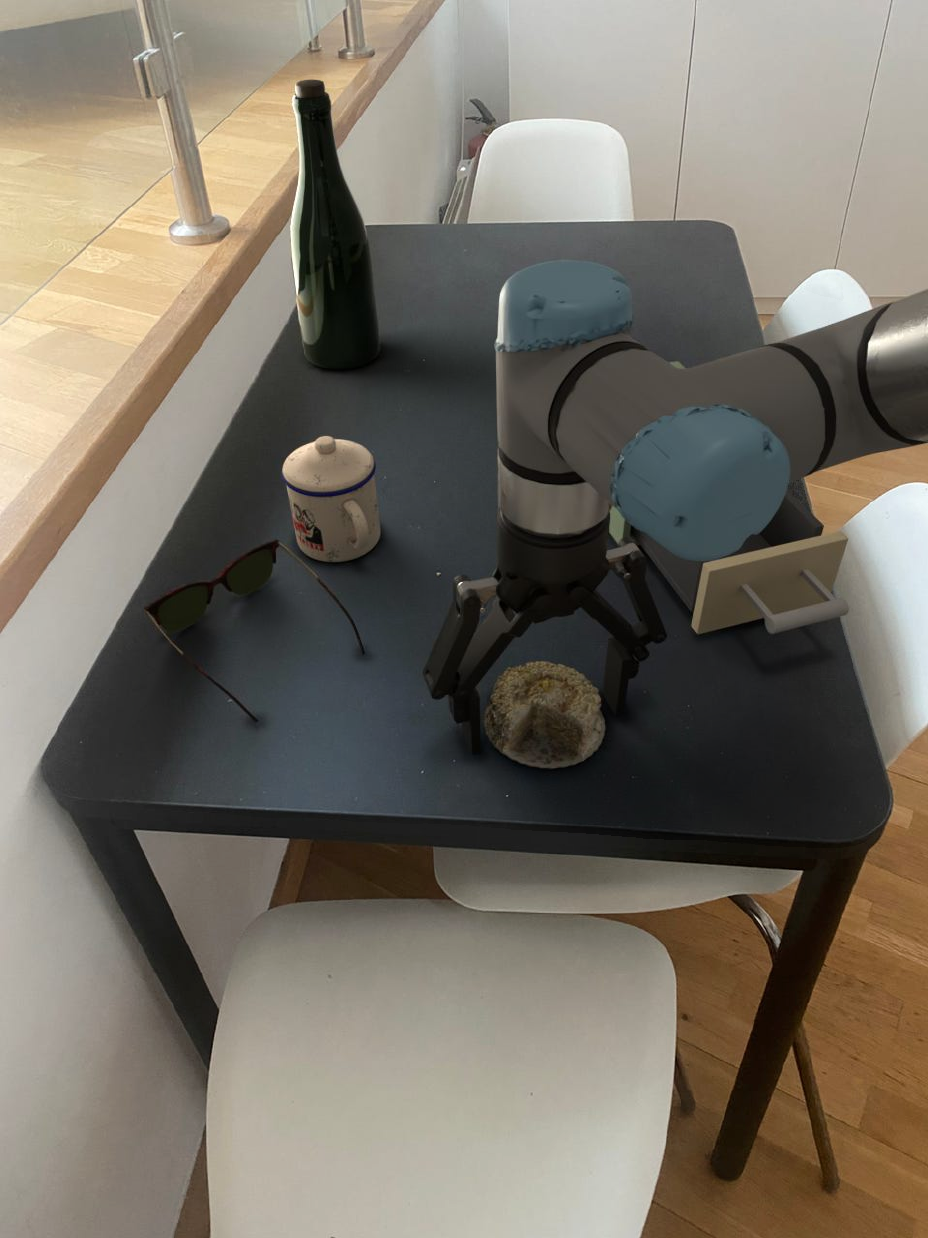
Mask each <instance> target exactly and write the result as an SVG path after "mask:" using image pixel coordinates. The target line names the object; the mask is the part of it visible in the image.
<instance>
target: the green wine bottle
mask: <svg viewBox="0 0 928 1238" xmlns="http://www.w3.org/2000/svg"><path fill="white" fill-rule="evenodd" d="M294 90H295V94H293V96H292V110H293V113H294V118H295V127H296V131H297V132H296V133H297V134H296V135H297V146H298V165H299V166H298V179H297V185H296V189H295V190H296V191H295V196H294V201H293V205H292V210H291V216H290V220H289V238H288V239H289V249H290V260H291V271H292V277H293V285H294V292H295V293H294V294H295V301H296V307H297V315H298V322H299V330H300V335H301V342H302V348H303V349H302V350H303V353H304V356H305V358H306V359H307V360H308V362H310V363H311V364H313V365H315V366H317V367H320V368H323V369H329V370H347V369H353V368H358V367H361V366H363V365H366V364H367V363H369V362H371V361H373V360H374V359H375V358H376V357H377V356H378V355H379V352H380V350H381V334H380V324H379V316H378V315H379V314H378V307H377V298H376V290H375V281H374V280H375V279H374V272H373V262H372V257H371V256H372V255H371V249H370V243H369V235H368V231H367V228H366V224H365V220H364V217H363V215H362V213H361V210H360V208H359V206H358V203H357V201H356V199H355V198H354V197H355V196H354V195H353V193H352V191H351V189H350V186H349V184H348V182H347V180H346V178H345V177H346V176H345V175H344V172H343V169H342V166H341V161H340V157H339V153H338V149H337V143H336V137H335V132H334V123H333V115H332V114H333V113H332V110H333V107H332V100H331V96H330V93H328V92H326V85H325V83H324V81H323V80H320V79H303V80H299V81H296V82H295V84H294Z"/></svg>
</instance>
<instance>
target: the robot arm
mask: <svg viewBox="0 0 928 1238" xmlns="http://www.w3.org/2000/svg"><path fill="white" fill-rule="evenodd" d="M497 316H498V319H497V338H496V339H495V341H494V342H493V343H494V344H493V345H494V346H493V347H494V350H495V372H496V373H495V375H496V376H495V377H496V378H495V379H496V426H497V427H496V430H497V431H496V434H497V505H498V508H497V515H496V516H497V517H496V518H497V520H496V521H497V525H496V526H497V528H496V529H497V531H496V532H497V535H496V537H497V541H496V542H497V546H496V547H497V565H496V567H495V569H494V571H493V573H492V574H491V577H485V578H481V579H476V580H471V578H470V576H469V574H468V575H467V574H466V573H462V574H459V575H457V576H455V577H454V579H453V581H452V602H451V604H450V606H449V609H448V611H447V614H446V616H445V618H444V621H443V623H442V626H441V627H440V630H439V633H438V635H437V637H436V640H435V642H434V643H433V647H432V648H431V651H430V653H429V655H428V658H427V660H426V663H425V665H424V667H423V669H422V676H423V679H424V682H425V684H426V687H427V689H428V691H429V694H430V697H431V699H432V700H435V701H437V700H443V698H445V697H446V696H447V697H448V709H449V711H450V714H451V716H452V718H453V721H454V722H455V723H456V725H459V724H461V731H462V733H463V736H464V739H465V741H466V743H467V746H468V748H469V751H470V753H471V755H476V754H479V753H482V737H481V736H482V731H481V696H480V694H479V692H478V690H477V688H476V687H478V685H479V684H480V682H481V681H482V680H483V678H484V677H485V676H486V675H487V673H488V672H489V671H490V670H491V669H492V667H493V666H494V665H495V663H496V662H497V660H499V658H500V657H501V656H502V654H503V653H504V652H505V650H507V648H508V647H509V645H510V644H511V643H512V641H513V640H515V638H521V637H522V636H523V635H524V634H525V632H526V631H527V630H528V629H529V628H530V626H531V625H532V624H533V625H536V624H540V623H544V622H546V621H548V620H551V619H553V618H564V617H565V618H566V617H569V616H573V615H574V614H575V611H577V610H579V609H582V610H583V611H584V612H585V613H586V614H587V615H588V616H589V617H590V618H592V620H595V621H596V622H597V623H598V624H600V625H601V626H602V627H603V628H604V629H605V630H606V631H607V632H608V633H609V634H610V635H611V637H608V639H607V646H606V647H607V649H606V657H605V666H604V675H603V683H602V695H603V697H604V699H605V701H606V702H607V704H608V705H609V707H610V709H611V711H612V712H613V715H614V716H615V717H617V716H618V717H619V716H621V715H624V714H625V711H626V703H627V697H628V696H627V695H628V688H629V680H631V679H634V678H636V677H637V675H638V674H639V668H640V663H641V662H644V661H645V660H647V659H648V658H649V657H650V654H651V653H650V651H649V649H648V647H647V646H648V645H649V644H651V643H654V644H656V645H659V644H662V643H664V642H665V641H666V640H667V638H668V633H667V631H666V628H665V625H664V623H663V621H662V618H661V615H660V613H659V610H658V608H657V606H656V603H655V600H654V597H653V596H652V593H651V591H650V588H649V585H648V583H647V580H646V574H647V563H648V561H647V560H648V559H647V557H646V556H645V555H644V554H643V552H642V550H641V549H640V548H639V547H638V545H637V546H636V544H635V543H634V542H633V540H632V539H631V538H630V537H624V538H622V539H621V540H619V542H618V544H617V543H616V544H617V545H616V548H611V549H608V546H609V538H610V537H609V535H610V533H609V527H610V510H611V508H612V506H613V507H615V508H616V509H617V510H618V511H619V512H620V514H621V516H622V518H624V519H626V521H627V522H628V523H630V524H631V525H632V526H633V527H634V528H635V529H638V530H640V531H641V532H645V533H646V534H648V535H649V536H650V537H651V538H653V539H654V540H655V541H657V542H658V543H659V544H661V545H662V546H663V547H665V548H666V549H667V550H669V551H670V552H671V553H673V554H674V555H676V556H678V557H680V558H683V559H685V560H691V561H711V560H716V559H719V558H722V557H725V556H727V555H729V554H731V553H733V552H735V551H737V550H739V549H740V548H741V546H742V545H743V543H744V541H745V540H746V539H747V538H748V537H749V536H750V535H751V534H753V535H757V534H759V533H760V532H761V531H762V530H763V529H764V528H765V527H766V526H767V524H768V523H769V522H770V521H771V519H772V518H773V516H774V515H775V513H776V512H777V510H778V509H779V507H780V505H781V503H782V501H783V499H784V496H785V494H786V491H787V490H788V487H789V485H790V484H791V483H793V482H796V481H799V480H802V479H803V478H806V477H808V476H811V475H813V474H814V473H817V472H820V471H822V470H825V469H829V468H832V467H835V466H838V465H841V464H844V463H847V462H850V461H853V460H856V459H860V458H863V457H867V456H871V455H875V454H880V453H885V452H890V451H895V450H900V449H907V448H911V447H916V446H921V445H924V444H925V445H926V444H928V288H925V289H922V290H920V291H917V292H914V293H912V294H909V295H907V296H905V297H902V298H900V299H898V300H894V301H891V302H887V303H884V304H882V305H880V306H879V305H878V306H876V307H874V308H871V309H869V310H866V311H863V312H861V313H858V314H856V315H855V314H854V315H853V316H850V317H848V318H845V319H843V320H840V321H837V322H834V323H831V324H827V325H825V326H821V327H819V328H816V329H813V330H809V331H807V332H804V333H801V334H798V335H794V336H792V337H791V336H790V337H788V338H786V339H782V340H780V341H776V342H773V343H767V344H764V345H761V346H757V347H755V348H752V349H749V350H746V351H742V352H739V353H736V354H732V355H729V356H725V357H722V358H719V359H714V360H712V361H708V362H705V363H702V364H699V365H696V366H692V367H689V368H686V369H680V368H676V367H674V366H673V365H671V364H670V363H669V362H668V361H667V360H665V359H664V358H662V357H661V356H659V355H657V354H656V353H654V352H653V351H651V350H650V349H648V348H647V347H646V346H645V345H643V344H642V343H640V342H638V341H637V340H635V339H634V338H632V336H631V329H632V326H633V323H634V320H635V319H634V315H633V295H632V290H631V287H630V285H629V284H628V280H627V279H626V278H625V277H624V276H623V275H622V274H621V273H620V272H618V271H617V270H615V269H613V268H612V267H609V266H606V265H604V264H601V263H596V262H593V261H592V262H591V261H585V260H577V259H575V260H574V259H562V260H561V259H559V260H550V261H545V262H544V261H543V262H541V263H537V264H533V265H529V266H526V267H524V268H522V269H520V270H519V271H516V272H515V273H513V274H512V275H511V276H510V277H509V278H508V279H507V280H506V281H505V282H504V284H503V286H502V287H501V290H500V293H499V298H498V315H497ZM610 570H612V571H613V572H614V574H615V575H616V577H619V578H620V579H621V581H622V584H623V586H624V588H625V591H626V593H627V595H628V598H629V600H630V602H631V604H632V607H633V610H634V612H635V614H636V617H637V619H638V622H636V623H634V624H631V623H630V622H629V621H628V620H627V619H626V618H625V617H624V616H623V615H622V614H621V613H620V612H619V611H618V610H617V609H616V608H615V607H614V606H613V605H612V604H611V603H610V602H609V601H608V600H607V599H606V598H605V597H604V596H603V595H602V594H601V592H598V590H597V588H598V587H599V586H600V584H601V583H602V582H603V581H604V580H605V578H606V577H607V576H608V574H609V572H610ZM494 597H495V599H494V600H493V602H492V603H491V611H490V613H489V614H488V615H487V616H486V618H485V619H484V621H482V623H481V624H480V625H479V622H480V619H481V618H480V617H481V615H485V614H486V612H487V606H488V603H489V601H490V600H491V599H492V598H494ZM515 613H516V614H515ZM478 625H479V627H478ZM477 628H478V629H477Z"/></svg>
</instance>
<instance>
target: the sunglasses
mask: <svg viewBox="0 0 928 1238" xmlns="http://www.w3.org/2000/svg"><path fill="white" fill-rule="evenodd" d="M279 547H280V548H281V549H282V550H283V551H285V553H287V554H288V555H290V556H291V557H293V558H294V559H295V560H296V561H297V562H299V564H301V565H302V566H303V567H304V568H305V569H306V570H307V571H308V572H309V573H310V574H311V575H312V576H313V577H314V578H315V579H316V581H317V582H318V583H319V585H321V587H322V588H323V589H324V590H325V591H326V592H327V593H328V595H329V596H330V597H331V598H332V599H333V600H334V601H335V603H336V604H337V605H338V606H339V608H340V609H341V610H342V612H343V613H344V614H345V616H346V617H347V619H348V621H349V622H350V624H351V626H352V628H353V631H354V633H355V635H356V636H355V637H356V640H357V642H358V645H359V648H360V652H361V655H362V656H363V655H366V651H365V648H364V645H363V643H362V639H361V636H360V633H359V631H358V628H357V625H356V623H355V621H354V620H353V618H352V616H351V615H350V613H349V612H348V610H347V609H346V607H344V605H343V604H342V602H341V601H340V600H339V599H338V597H337V596H336V595H335V594H334V593H333V592H332V591H331V589H330V588H329V587H328V586H327V585H326V584H325V583H324V581H322V580H321V579H320V578H319V576H318V575H317V574H316V573H315V572H314V571H313V570H312V569H311V568H309V566H308V565H306V563H304V562H303V561H302V560H301V559H300V558H299V557H298V556H297V555H296V554H294V553H293V552H292V551H291V550H290V549H289V548H288V547H287V546H285V545H284V544H282V543H281V542H280V540H279V539H278V538H275V539H272V540H269V541H266V542H264V543H260V544H258V545H257V546H254V547H252V548H251V549H249V550H246V551H245V552H243V553H242V554H240V555H238V557H235V559H233V560H232V561H231V562H229V564H228V565H227V566H225V567H224V569H223V570H222V572H221V573H220V574H219V575H218V576H215V577H214V578H212V579H210V580H209V579H208V580H206V579H201V580H196V581H192V582H191V581H190V582H186V583H185V584H182V585H179V586H178V587H175V588H172V589H171V590H170V591H168V592H166V593H165V594H162V595H161V596H159V597H157V598H156V599H155V600H153V601H152V602H150V603H148V605H146V606H144V607H143V609H144V612H145V614H146V615H147V616H148V617H149V618H150V620H151V622H152V623H153V624H154V625H155V626H156V627H157V629H158V630H159V631H160V632H161V634H162V635H163V636H164V637H165V638H166V639H167V641H168V642H169V643H170V645H172V646H173V647H174V648H175V649H176V651H177V652H178V653H179V654H180V655H181V656H182V657H183V658H184V659H185V660H186V661H187V662H188V663H189V664H191V665H192V667H194V668H195V669H196V670H197V671H198V672H199V673H201V674H202V675H203V676H204V677H205V678H206V679H207V680H209V682H211V683H212V684H213V685H215V686H216V687H217V688H218V689H220V690H221V691H222V692H223V693H224V694H226V695H227V696H228V697H229V698H230V699H231V700H232V701H233V702H235V703H236V704H237V706H239V707H240V709H241V710H243V712H244V713H245V714H246V715H247V716H248V717H249V718H251V720H252V721H254V723H258V722H259V719H257V718H256V717H255V716H254V715H253V713H251V712H250V711H249V710H248V709H247V707H245V705H243V703H242V702H240V700H239V699H237V697H235V696H234V695H233V694H232V693H231V692H230V691H229V690H227V689H226V688H225V687H223V686H222V684H220V683H218V681H216V680H215V679H214V678H213V677H212V676H210V675H209V674H208V673H207V672H205V671H204V670H203V669H202V668H201V667H200V666H198V664H197V663H195V662H194V661H193V660H192V659H191V658H190V657H189V656H188V655H187V654H186V653H184V652H183V651H182V650H181V649H180V648H179V647H178V646H176V645H175V643H173V641H172V640H171V639H170V638H169V637H168V635H166V633H165V632H167V633H177V632H179V631H182V630H184V629H188V627H190V626H192V625H194V624H195V623H197V622H198V621H199V620H200V619H201V618H202V617H203V615H204V614H205V613H206V611H207V607H208V605H209V604H211V601H212V598H213V596H214V589H215V587H216V586H217V585H219V584H222V586H223V587H224V588H225V589H226V590H227V591H228V592H230V593H233V594H235V595H238V596H245V595H249V594H250V593H253V592H255V591H257V590H258V589H259V588H261V587H262V586H264V585H265V584H266V583H267V582H268V581H269V579H270V578H271V576H272V573H273V570H274V569H273V568H274V564H276V563H277V549H278V548H279ZM162 629H163V630H162ZM164 631H165V632H164Z"/></svg>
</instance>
